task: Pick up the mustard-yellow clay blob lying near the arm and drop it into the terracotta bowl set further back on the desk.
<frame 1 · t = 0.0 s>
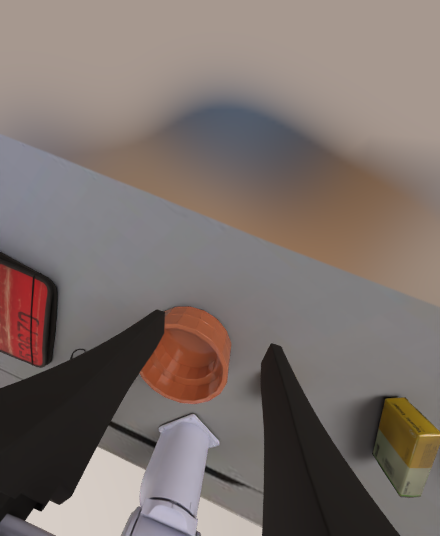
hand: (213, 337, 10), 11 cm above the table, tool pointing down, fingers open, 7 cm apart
medication box: (386, 424, 22), on the table
bowl: (191, 340, 24), on the table
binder: (19, 308, 29), on the table
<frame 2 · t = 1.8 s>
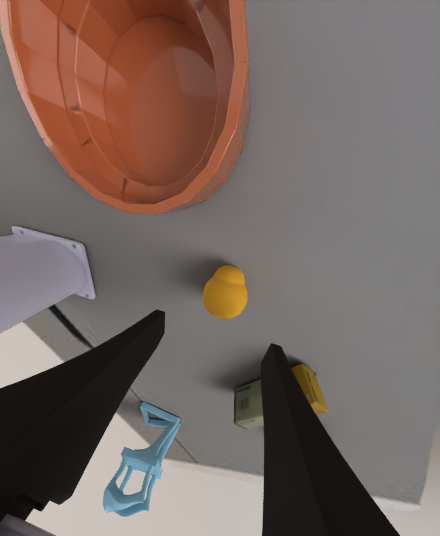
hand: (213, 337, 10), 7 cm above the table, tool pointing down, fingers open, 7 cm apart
medication box: (270, 378, 22), on the table
bowl: (165, 119, 12), on the table
blob: (228, 284, 17), on the table
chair: (162, 414, 34), on the table
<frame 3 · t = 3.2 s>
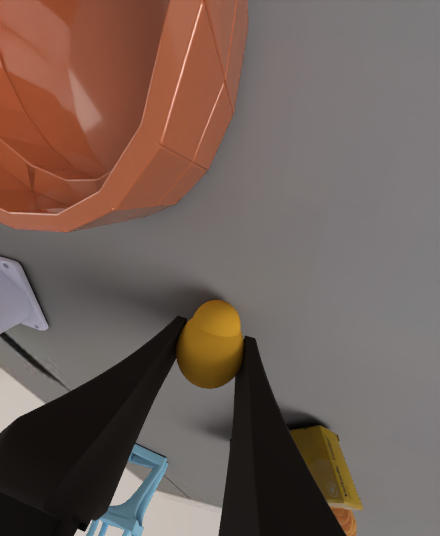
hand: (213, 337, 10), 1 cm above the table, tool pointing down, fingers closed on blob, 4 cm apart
medication box: (276, 432, 17), on the table
bowl: (100, 64, 7), on the table
blob: (217, 321, 12), on the table, touching gripper
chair: (147, 451, 29), on the table
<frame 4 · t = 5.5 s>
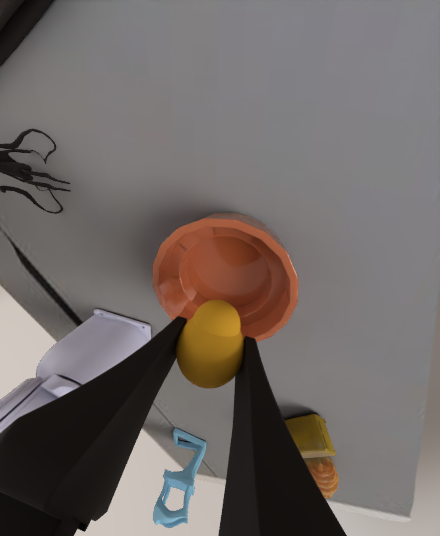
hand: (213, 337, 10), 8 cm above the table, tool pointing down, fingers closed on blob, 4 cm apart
creature: (47, 173, 17), on the table
medication box: (288, 419, 28), on the table
bowl: (227, 270, 17), on the table
blob: (217, 321, 12), point 7 cm above the table, touching gripper
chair: (191, 438, 39), on the table
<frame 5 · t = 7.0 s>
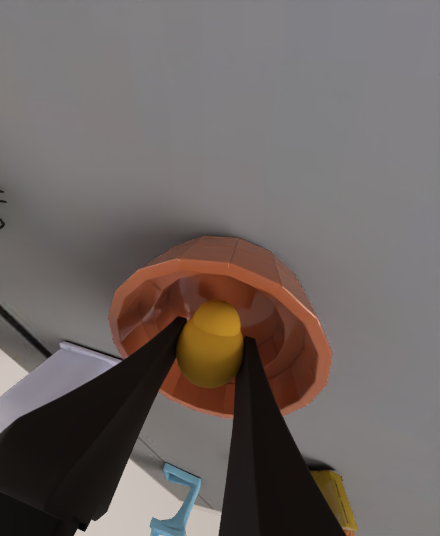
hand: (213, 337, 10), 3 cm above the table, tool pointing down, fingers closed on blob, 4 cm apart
medication box: (296, 469, 23), on the table
bowl: (221, 308, 13), on the table
blob: (217, 321, 12), point 2 cm above the table, touching gripper
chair: (183, 472, 35), on the table
when the fingers open (2 cm above the table, at t = 7.7 s): blob stays where it is, resting on bowl.
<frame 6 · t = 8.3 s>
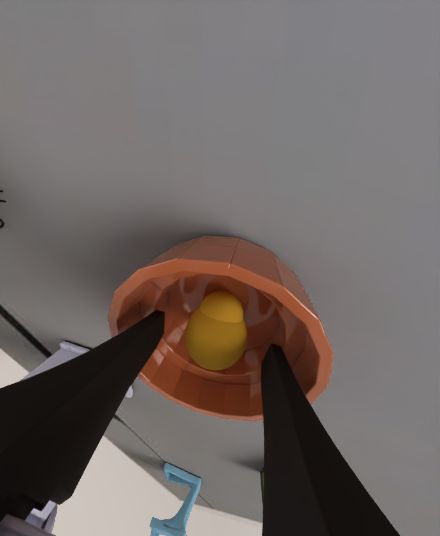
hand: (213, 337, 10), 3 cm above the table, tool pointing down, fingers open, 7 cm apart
bowl: (222, 308, 13), on the table
blob: (220, 312, 12), point 1 cm above the table, touching bowl
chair: (184, 472, 35), on the table
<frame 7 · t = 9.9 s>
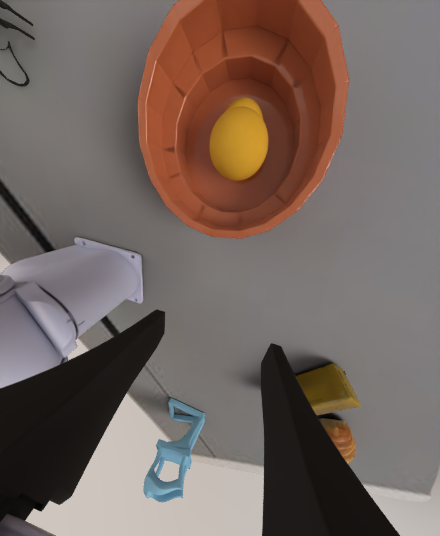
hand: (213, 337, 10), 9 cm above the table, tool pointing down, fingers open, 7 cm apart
creature: (6, 23, 13), on the table
medication box: (300, 377, 24), on the table
bowl: (236, 155, 14), on the table
blob: (236, 153, 13), point 1 cm above the table, tilted 10°, touching bowl
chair: (188, 410, 36), on the table
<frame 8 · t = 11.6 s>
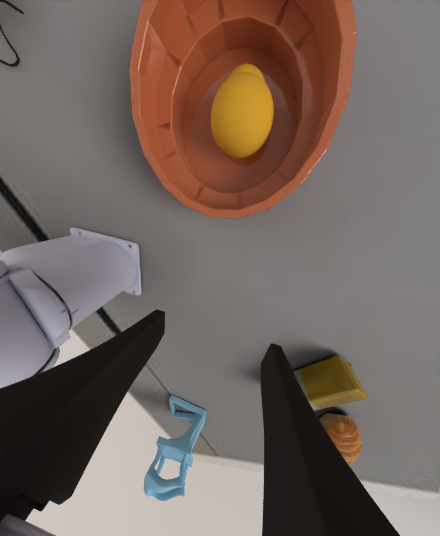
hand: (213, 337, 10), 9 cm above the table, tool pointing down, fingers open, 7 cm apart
medication box: (303, 370, 23), on the table
bowl: (235, 134, 13), on the table
blob: (235, 130, 13), point 1 cm above the table, tilted 18°, touching bowl
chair: (189, 407, 35), on the table
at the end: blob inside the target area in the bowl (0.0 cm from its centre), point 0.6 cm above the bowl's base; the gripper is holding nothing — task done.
